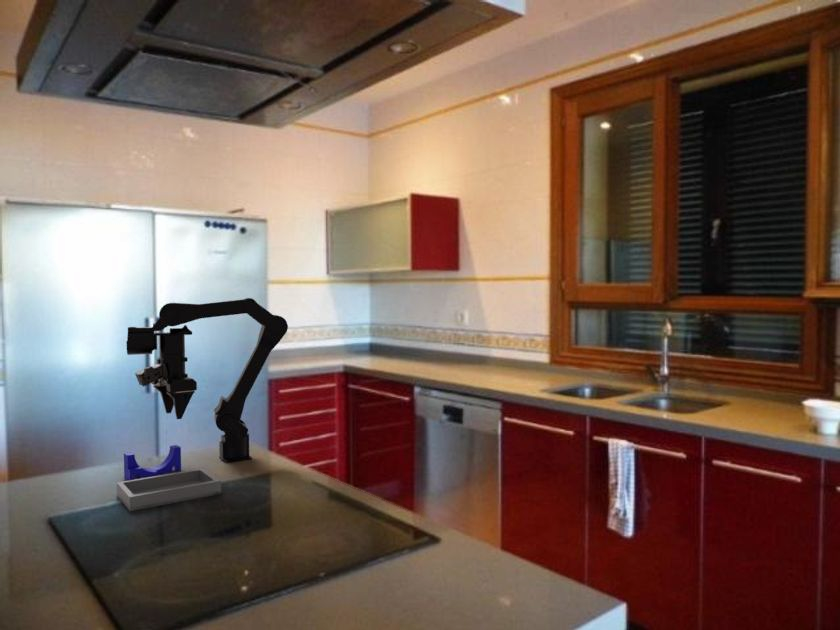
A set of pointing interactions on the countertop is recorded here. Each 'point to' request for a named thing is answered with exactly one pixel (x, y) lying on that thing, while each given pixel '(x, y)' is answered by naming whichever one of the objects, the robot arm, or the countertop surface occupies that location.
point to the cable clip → (165, 467)
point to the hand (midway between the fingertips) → (173, 416)
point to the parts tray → (167, 489)
